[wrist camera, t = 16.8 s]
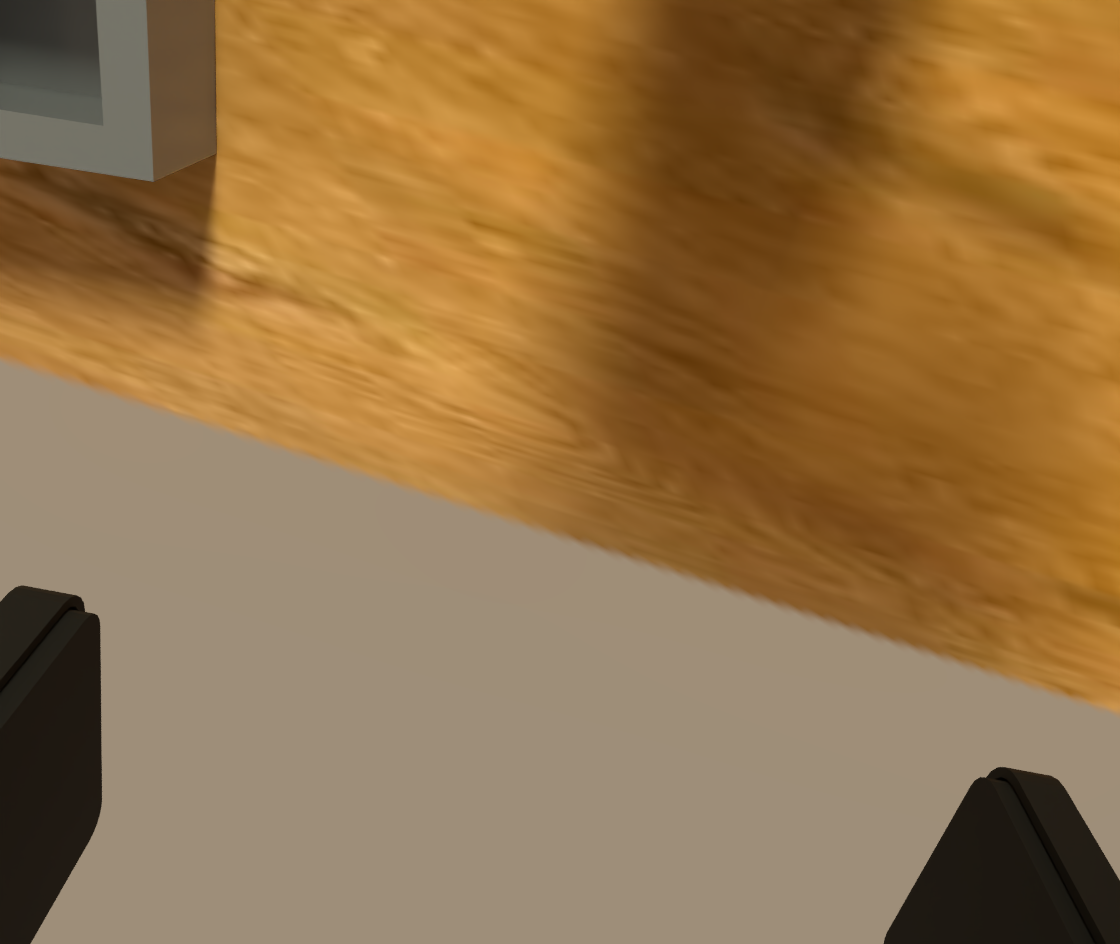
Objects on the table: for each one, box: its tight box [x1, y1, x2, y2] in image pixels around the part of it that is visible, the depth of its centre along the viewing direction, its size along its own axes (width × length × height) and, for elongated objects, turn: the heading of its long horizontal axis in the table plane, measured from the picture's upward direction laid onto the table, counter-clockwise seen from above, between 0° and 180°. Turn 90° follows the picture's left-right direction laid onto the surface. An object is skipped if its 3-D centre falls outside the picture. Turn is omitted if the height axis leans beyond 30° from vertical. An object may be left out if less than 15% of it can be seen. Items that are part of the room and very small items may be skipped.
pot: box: [0, 0, 216, 182], centre depth 31 cm, size 9×9×6 cm
